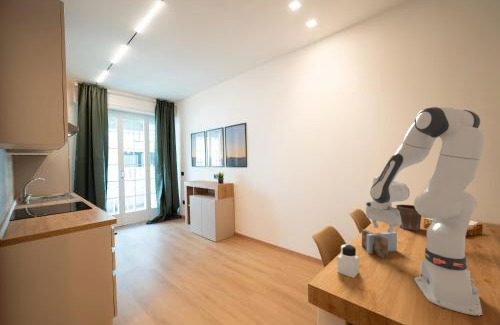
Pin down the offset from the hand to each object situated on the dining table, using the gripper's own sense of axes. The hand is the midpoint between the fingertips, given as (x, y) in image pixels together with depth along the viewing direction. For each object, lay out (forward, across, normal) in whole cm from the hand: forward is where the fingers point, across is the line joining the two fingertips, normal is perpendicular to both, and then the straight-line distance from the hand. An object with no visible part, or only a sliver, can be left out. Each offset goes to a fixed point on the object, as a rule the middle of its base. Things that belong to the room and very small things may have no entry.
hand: (382, 230), depth 115 cm
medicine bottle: (+13, -13, +33) cm, 37 cm away
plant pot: (+11, +30, -52) cm, 61 cm away
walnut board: (+12, +1, +5) cm, 13 cm away
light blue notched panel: (+12, +1, 0) cm, 12 cm away
